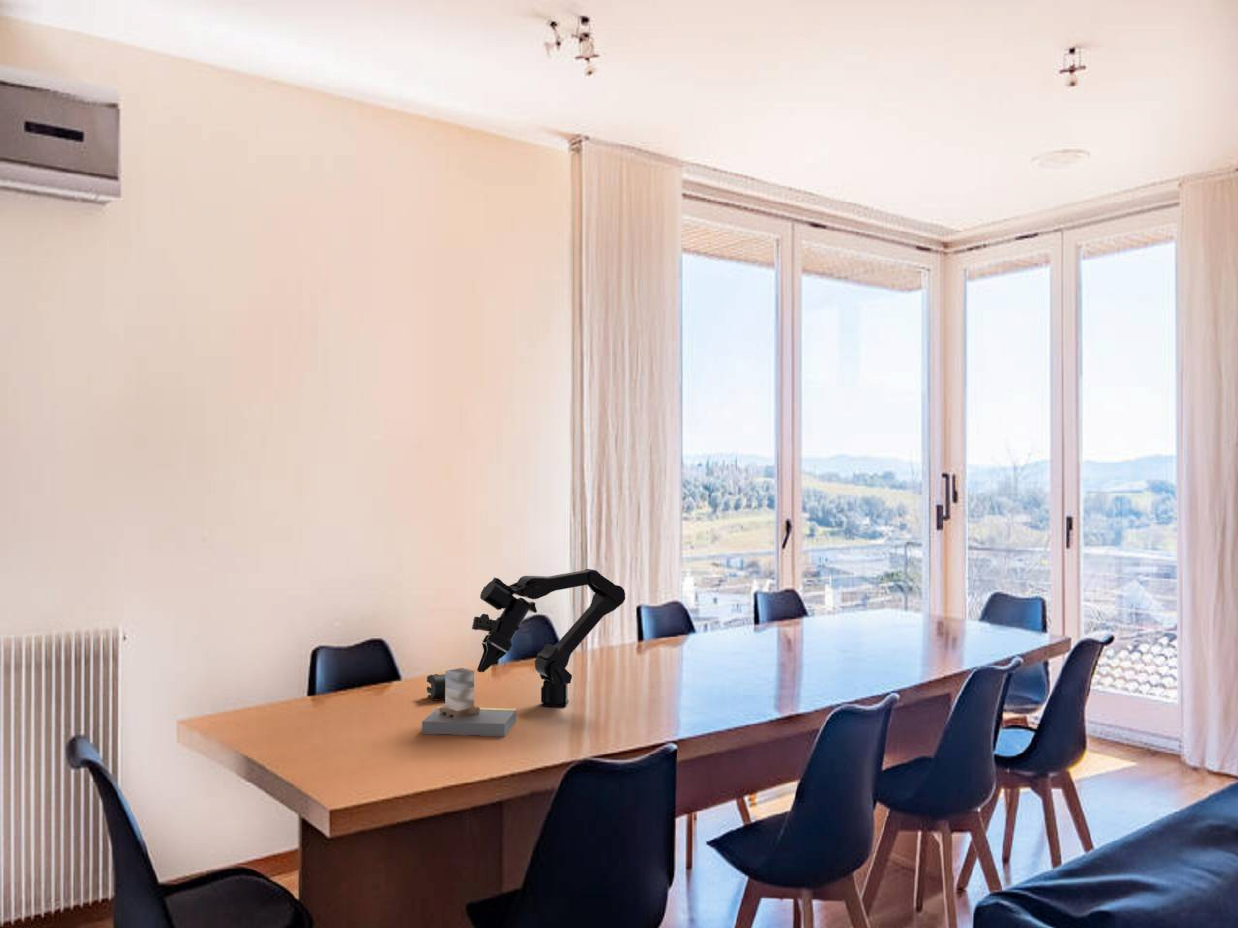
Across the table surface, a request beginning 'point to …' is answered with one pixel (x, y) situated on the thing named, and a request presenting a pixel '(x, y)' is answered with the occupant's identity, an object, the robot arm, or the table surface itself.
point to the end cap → (436, 686)
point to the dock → (471, 723)
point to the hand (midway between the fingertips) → (479, 671)
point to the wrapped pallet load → (459, 694)
